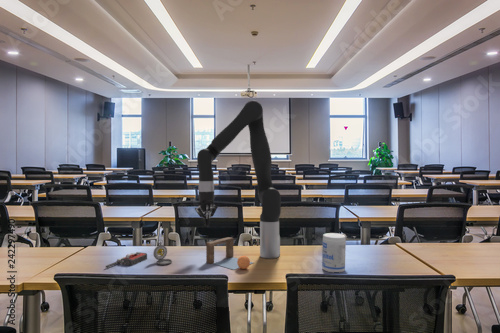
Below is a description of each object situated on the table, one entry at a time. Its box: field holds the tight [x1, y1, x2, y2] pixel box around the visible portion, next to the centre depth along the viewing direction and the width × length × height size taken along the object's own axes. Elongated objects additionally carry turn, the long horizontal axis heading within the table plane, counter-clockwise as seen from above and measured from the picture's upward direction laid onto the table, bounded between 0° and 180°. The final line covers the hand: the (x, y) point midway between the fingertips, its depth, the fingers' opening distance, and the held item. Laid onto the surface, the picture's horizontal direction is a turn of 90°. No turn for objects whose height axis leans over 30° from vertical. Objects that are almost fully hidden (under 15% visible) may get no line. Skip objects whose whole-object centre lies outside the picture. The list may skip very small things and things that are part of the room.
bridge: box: [205, 236, 234, 265], centre depth 158 cm, size 3×14×9 cm, turn 139°
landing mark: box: [213, 256, 254, 271], centre depth 152 cm, size 13×13×1 cm
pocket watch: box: [153, 239, 173, 266], centre depth 153 cm, size 8×8×10 cm
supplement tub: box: [321, 232, 347, 273], centre depth 144 cm, size 10×10×15 cm
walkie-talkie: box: [105, 251, 148, 269], centre depth 153 cm, size 9×4×20 cm
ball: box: [237, 255, 251, 270], centre depth 145 cm, size 6×6×6 cm
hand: (206, 226), depth 164 cm, fingers closed
